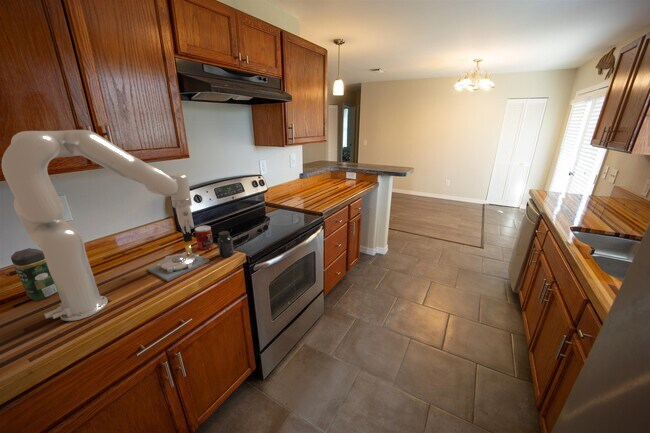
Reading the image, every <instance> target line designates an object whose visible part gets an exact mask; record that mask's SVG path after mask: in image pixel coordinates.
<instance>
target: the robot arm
mask: <svg viewBox="0 0 650 433" xmlns="http://www.w3.org/2000/svg"><path fill="white" fill-rule="evenodd" d="M10 140H11V141H10V144H9V145H8V147H7V148H6V149H5V151H4V153H3V156H2V158H1V170H2V173H3V177H4V179H5V181H6V182H7V185H8V187H9V189H10V191H11V193H12V196H13V197H14V200H13V208H14V210H15V213H16V215H17V217H18V218H19V219H20V222H21V224H22V225H23V227H24V228H25V230H26V231H27V233H28V235H29V236H30V238H31V240H32V242H34V244H36V245H37V246H38V247H39V248H40V250H41V251H43V254H44V256H45V259H46V263H47V266H48V269H49V272H50V274H51V276H52V279H53V281H54V284H55V286H56V289H57V291H58V292H57V294H58V296H59V299H60V301H61V302H59V305H60V306H58V307H56V309H55V308H54V309H53V310H50V311H48V312H45V313H43V315H44V318H45V319H46V320H48V319H51V318H52V319H53V320H55V319H57V318H59V317H60V319H61V320H62V321H65V322H73V321H80V320H83V319H86V318H88V317H89V318H90V317H91V316H93V315H95V314H97V313H99V312H100V311H102V310H103V309H104V308H106V307H107V305H108V302H109V301H108V298H107V297H106V296H104V295H101V294H100V292H99V291H100V290H99V289H98V285H97V282H96V279H95V277H94V273H93V270H92V268H91V265H90V262H89V258H88V255H87V253H86V251H87V250H86V247H85V245H86V244H85V240H84V238H83V236H82V235H81V234H82V233H80V232H79V231H78V230H77V228H75V227H73V226H71V225H69V224H68V223H67V221H66V219H65V217H64V213H65V205H64V203H63V202H62V200H61V198H60V196H59V195H58V192H57V191H56V188H55V186H54V185H53V183H52V180H51V178H50V175H49V173H48V168H49V164H50V162H51V161H52V160H54V159H55V158H56V159H58V158H66V157H68V158H70V157H77V156H81V157H84V158H86V159H88V160H90V161H91V162H93V163H96V164H97V165H99V166H100V167H103V168H104V169H107V170H108V171H110V172H112V173H114V174H116V175H118V176H120V177H122V178H125V179H128V180H132V181H135V182H137V183H139V184H142V185H144V186H145V188H146V190H147V191H148V192H150V193H152V194H156V195H160V196H163V197H170V199H171V206H172V208H175V210H176V216H177V221H178V224H179V226H180V228H181V230H182V236H183V242H184V243H188V242H192V241H193V237H192V232H191V228H195V224H194V219H193V214H192V209H191V206H193V204H192V197H191V192H190V184H189V178H188V175H186V174H185V173H174V174H166V172H164V171H162V170H160V169H159V168H156V167H155V166H153V165H151V164H149V163H147V162H145V161H143V160H142V159H140V158H137V157H136V156H134V155H132V154H130V153H128V152H127V151H126V150H124V149H122V148H121V147H119V146H117V145H116V144H115V143H112V142H111V141H110V140H107V139H106V138H105V137H103V136H101V135H99V134H98V133H96V132H95V131H91V130H88V129H68V130H26V131H25V130H24V131H20V132H17V133H16V134H14V135H13V136H12V138H11V139H10Z"/></svg>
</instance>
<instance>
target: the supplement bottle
mask: <svg viewBox="0 0 650 433" xmlns="http://www.w3.org/2000/svg"><path fill="white" fill-rule="evenodd" d="M216 241H217V247H218V248H217V249H218V254H219V257H221V258H229V256H230V257H233V255H234V254H235V252H234V243H233V238H232V237H231V236H230V232H229V231H228V230H223V231H219V232H218V238H217V240H216Z"/></svg>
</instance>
